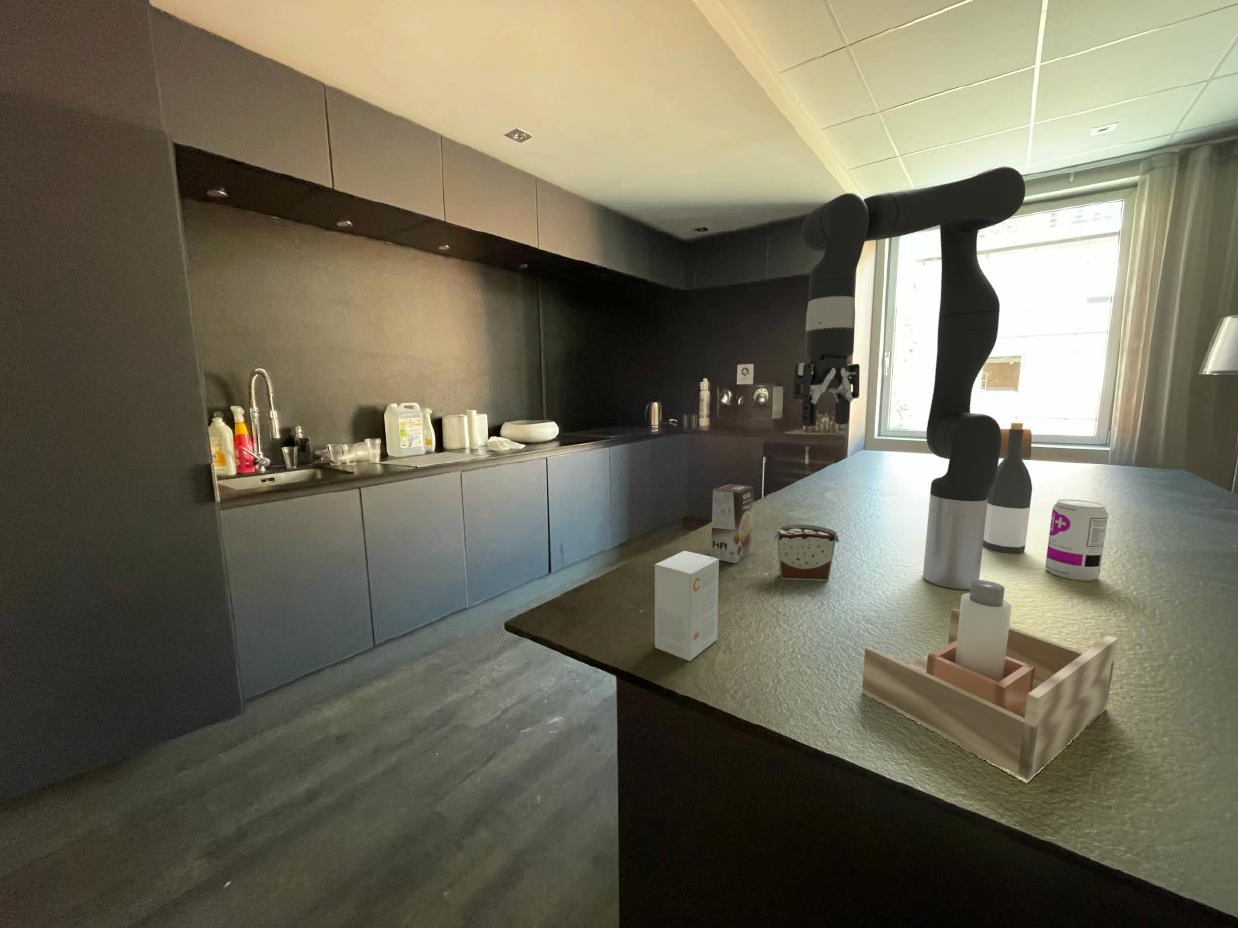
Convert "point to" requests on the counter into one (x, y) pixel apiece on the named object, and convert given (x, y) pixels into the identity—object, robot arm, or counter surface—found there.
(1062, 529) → the supplement can
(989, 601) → the white plastic bottle
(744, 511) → the coffee box
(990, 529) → the wine bottle
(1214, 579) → the counter surface
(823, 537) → the food container
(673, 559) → the small box
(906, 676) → the wooden tray
